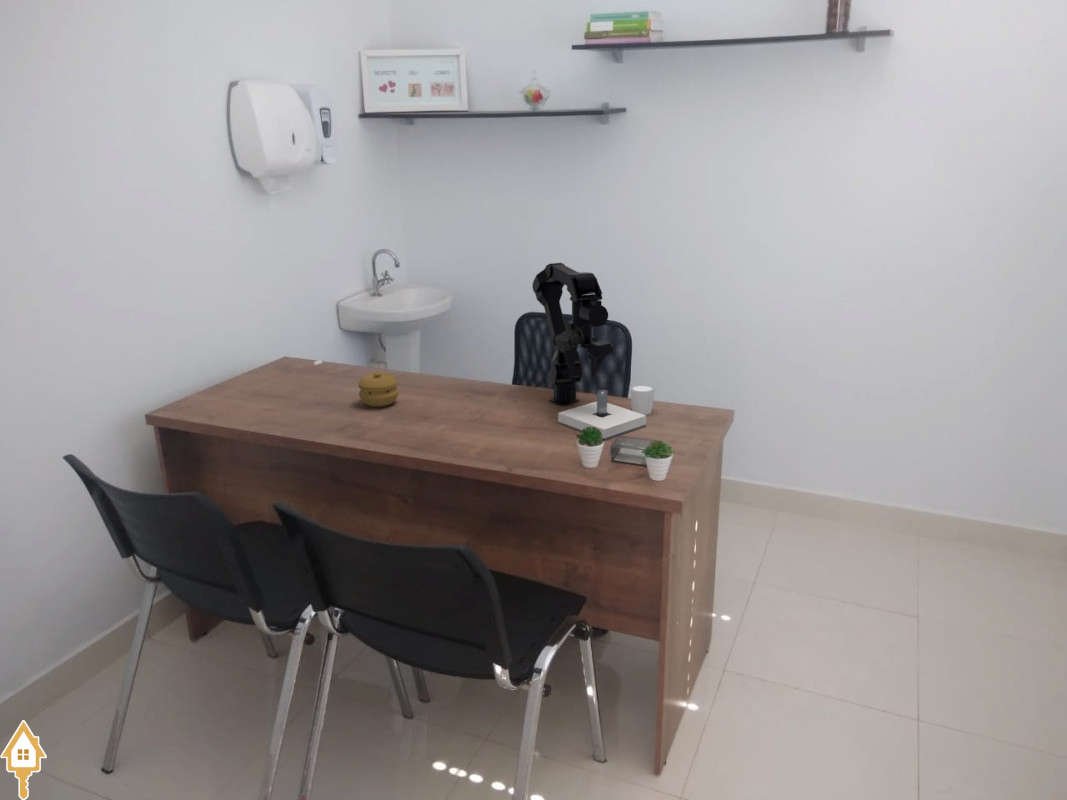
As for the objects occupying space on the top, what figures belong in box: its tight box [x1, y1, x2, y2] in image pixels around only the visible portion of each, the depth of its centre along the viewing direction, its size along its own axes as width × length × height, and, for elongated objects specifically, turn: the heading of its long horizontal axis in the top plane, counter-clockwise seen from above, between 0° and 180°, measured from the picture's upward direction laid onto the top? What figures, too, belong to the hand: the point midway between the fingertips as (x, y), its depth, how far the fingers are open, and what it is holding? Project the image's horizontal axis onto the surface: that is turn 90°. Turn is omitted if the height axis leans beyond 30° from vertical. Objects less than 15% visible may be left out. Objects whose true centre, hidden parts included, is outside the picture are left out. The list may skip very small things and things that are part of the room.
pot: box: [357, 371, 400, 408], centre depth 246 cm, size 12×12×10 cm
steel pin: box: [596, 389, 608, 418], centre depth 225 cm, size 3×3×9 cm
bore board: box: [557, 400, 647, 441], centre depth 226 cm, size 18×16×3 cm
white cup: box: [629, 384, 656, 416], centre depth 235 cm, size 7×7×7 cm
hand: (582, 373), depth 231 cm, fingers open, 9 cm apart
